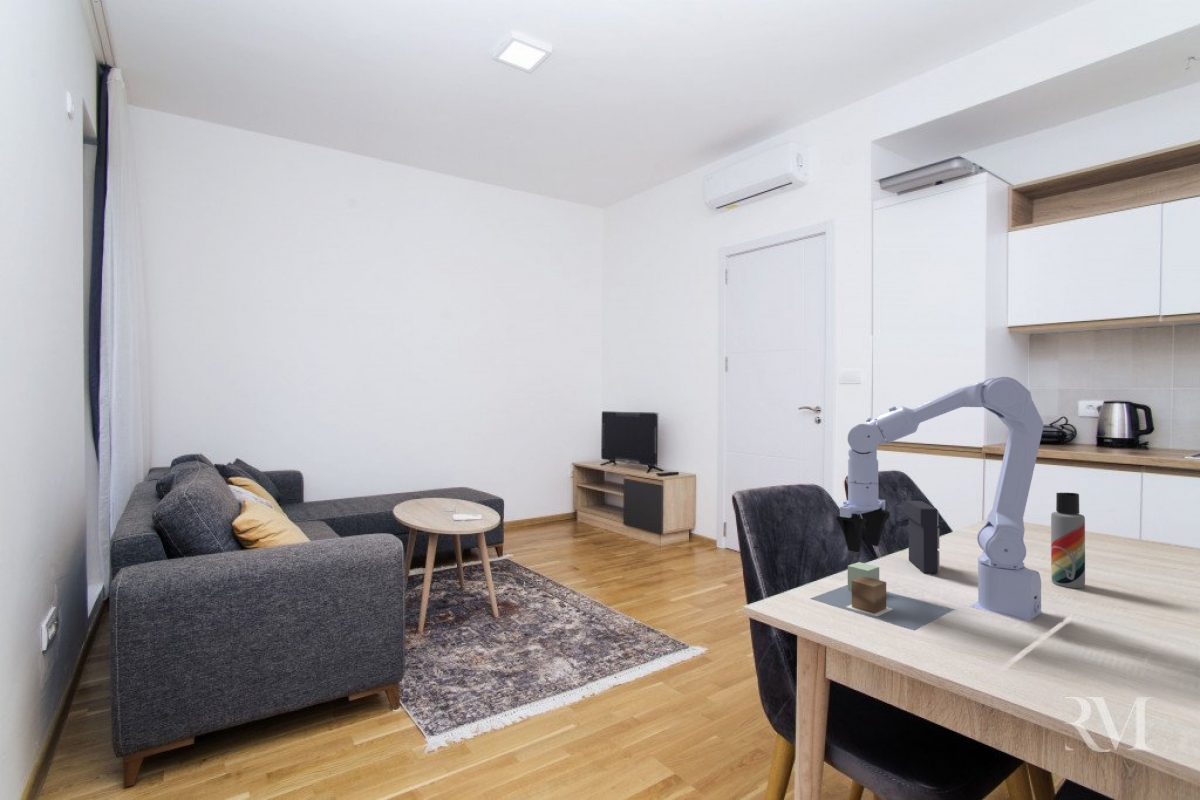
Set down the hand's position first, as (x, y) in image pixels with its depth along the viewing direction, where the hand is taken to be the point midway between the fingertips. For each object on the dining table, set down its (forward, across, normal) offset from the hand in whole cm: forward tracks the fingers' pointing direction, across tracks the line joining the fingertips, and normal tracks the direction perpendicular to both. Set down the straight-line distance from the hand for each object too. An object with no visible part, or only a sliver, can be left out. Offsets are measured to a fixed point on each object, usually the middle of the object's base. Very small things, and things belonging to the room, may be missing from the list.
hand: (863, 548), depth 120 cm
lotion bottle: (+10, -40, +24) cm, 48 cm away
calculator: (+10, -29, -1) cm, 31 cm away
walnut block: (+9, +9, +6) cm, 14 cm away
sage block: (+9, 0, 0) cm, 9 cm away
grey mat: (+9, +5, +6) cm, 12 cm away
